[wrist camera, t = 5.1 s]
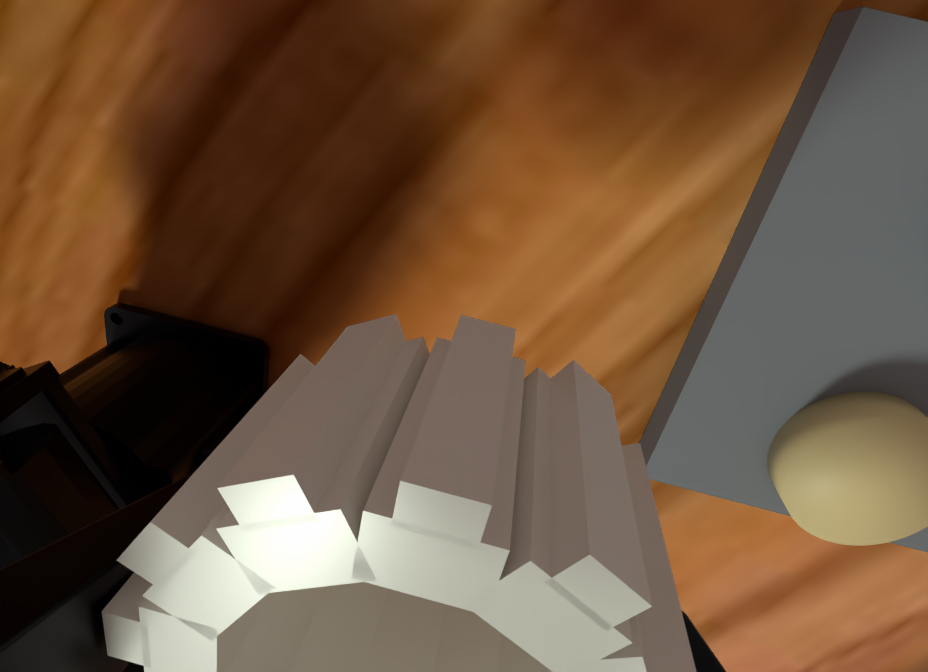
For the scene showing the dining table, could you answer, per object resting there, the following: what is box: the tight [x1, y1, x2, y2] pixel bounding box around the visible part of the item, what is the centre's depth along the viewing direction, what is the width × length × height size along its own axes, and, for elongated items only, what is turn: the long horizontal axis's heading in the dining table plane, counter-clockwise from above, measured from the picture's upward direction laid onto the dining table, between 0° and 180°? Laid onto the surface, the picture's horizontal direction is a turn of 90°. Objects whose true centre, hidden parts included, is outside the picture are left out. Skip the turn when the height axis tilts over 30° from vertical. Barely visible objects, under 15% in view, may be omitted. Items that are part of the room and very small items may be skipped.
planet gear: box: [102, 314, 696, 672], centre depth 9 cm, size 8×8×4 cm
